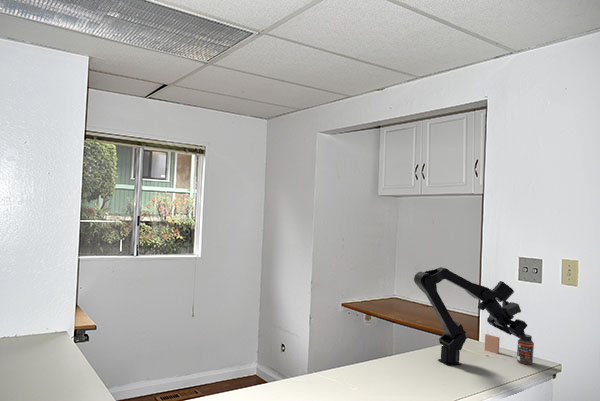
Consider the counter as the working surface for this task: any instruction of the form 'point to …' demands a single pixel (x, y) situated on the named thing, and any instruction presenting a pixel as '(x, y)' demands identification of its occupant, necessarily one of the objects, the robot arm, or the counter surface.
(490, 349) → the tile
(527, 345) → the supplement bottle
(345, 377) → the counter surface
